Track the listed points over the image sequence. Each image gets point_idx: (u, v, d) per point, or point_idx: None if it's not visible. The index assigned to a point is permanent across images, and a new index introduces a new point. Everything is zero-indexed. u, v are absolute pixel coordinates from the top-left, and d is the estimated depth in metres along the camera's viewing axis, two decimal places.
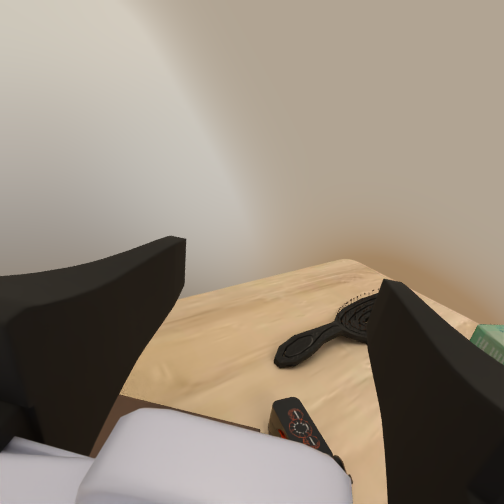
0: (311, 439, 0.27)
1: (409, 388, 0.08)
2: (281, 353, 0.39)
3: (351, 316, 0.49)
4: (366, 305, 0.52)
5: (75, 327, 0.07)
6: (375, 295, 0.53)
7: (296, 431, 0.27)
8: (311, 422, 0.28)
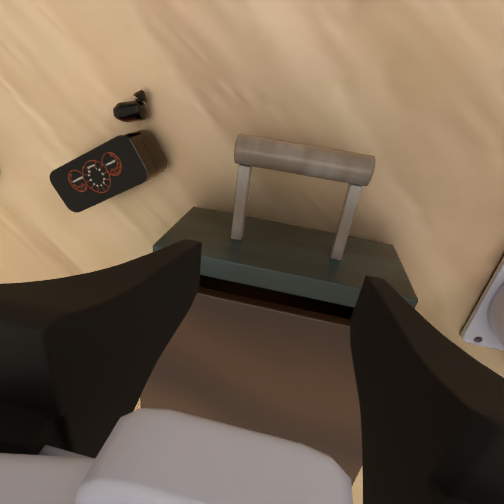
0: (108, 163, 0.19)
1: (384, 382, 0.08)
2: None
3: None
4: None
5: (103, 334, 0.07)
6: None
7: (103, 183, 0.20)
8: (82, 158, 0.19)
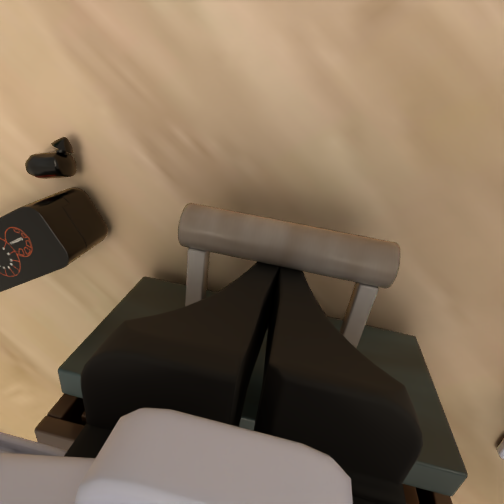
0: (13, 241, 0.14)
1: None
2: None
3: None
4: None
5: (245, 368, 0.06)
6: None
7: (11, 265, 0.14)
8: None
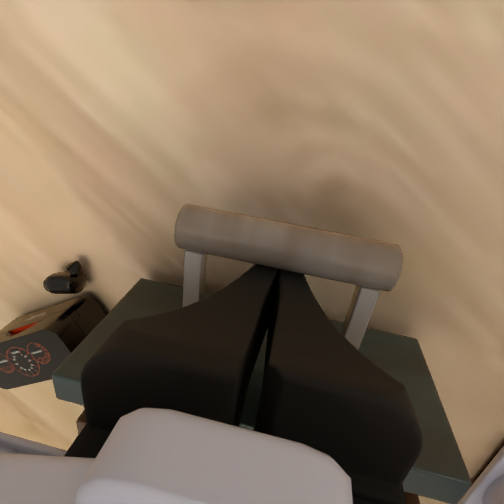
0: (34, 352, 0.16)
1: None
2: None
3: None
4: None
5: (245, 368, 0.06)
6: None
7: (31, 368, 0.17)
8: (4, 344, 0.16)
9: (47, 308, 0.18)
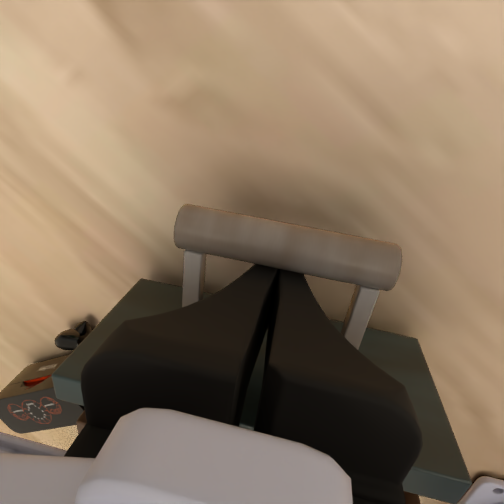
0: (47, 404, 0.18)
1: (268, 355, 0.08)
2: None
3: None
4: None
5: (245, 368, 0.06)
6: None
7: (44, 417, 0.18)
8: (20, 397, 0.18)
9: (57, 359, 0.20)
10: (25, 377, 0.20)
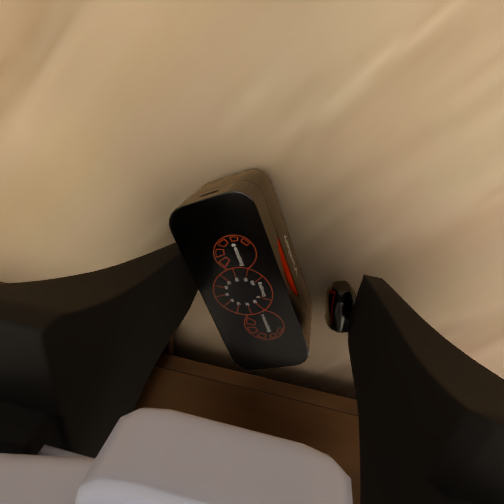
0: (265, 320, 0.11)
1: (381, 382, 0.08)
2: None
3: None
4: None
5: (102, 334, 0.07)
6: None
7: (230, 299, 0.11)
8: (276, 278, 0.10)
9: (293, 252, 0.12)
10: (276, 224, 0.11)
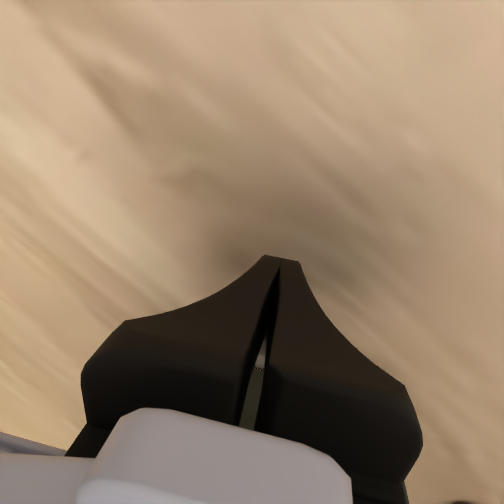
0: None
1: None
2: None
3: None
4: None
5: (245, 368, 0.06)
6: None
7: None
8: None
9: None
10: None
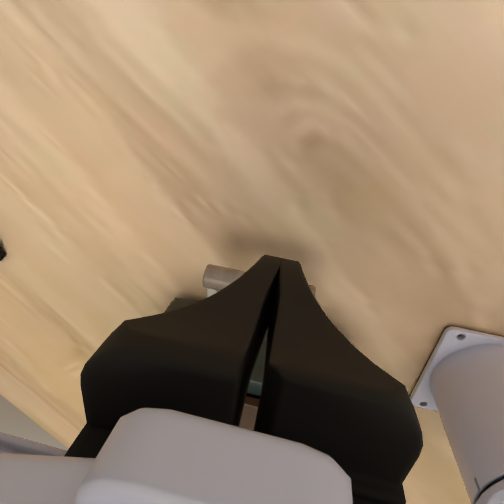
0: None
1: None
2: None
3: None
4: None
5: (245, 368, 0.06)
6: None
7: None
8: None
9: None
10: None
